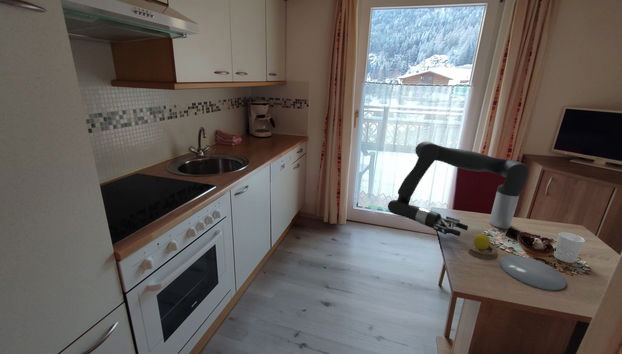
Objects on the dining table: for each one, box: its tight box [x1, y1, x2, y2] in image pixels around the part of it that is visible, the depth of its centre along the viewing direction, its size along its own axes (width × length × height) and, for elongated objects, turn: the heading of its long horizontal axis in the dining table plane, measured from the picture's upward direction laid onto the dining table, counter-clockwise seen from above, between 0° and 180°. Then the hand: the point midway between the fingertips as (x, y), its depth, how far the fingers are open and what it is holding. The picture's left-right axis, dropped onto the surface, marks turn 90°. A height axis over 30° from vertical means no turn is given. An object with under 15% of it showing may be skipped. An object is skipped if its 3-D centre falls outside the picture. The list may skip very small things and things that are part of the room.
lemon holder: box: [468, 243, 498, 260], centre depth 118 cm, size 11×8×2 cm
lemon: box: [473, 233, 491, 252], centre depth 118 cm, size 6×6×8 cm
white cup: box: [553, 231, 586, 264], centre depth 115 cm, size 8×8×10 cm
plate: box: [499, 254, 567, 291], centre depth 106 cm, size 20×20×1 cm
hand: (463, 231), depth 123 cm, fingers open, 8 cm apart
